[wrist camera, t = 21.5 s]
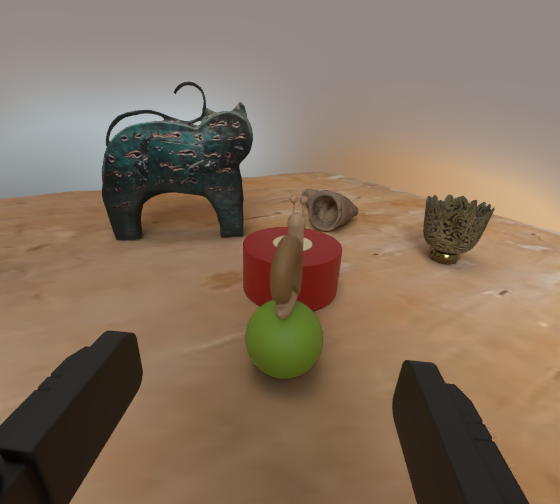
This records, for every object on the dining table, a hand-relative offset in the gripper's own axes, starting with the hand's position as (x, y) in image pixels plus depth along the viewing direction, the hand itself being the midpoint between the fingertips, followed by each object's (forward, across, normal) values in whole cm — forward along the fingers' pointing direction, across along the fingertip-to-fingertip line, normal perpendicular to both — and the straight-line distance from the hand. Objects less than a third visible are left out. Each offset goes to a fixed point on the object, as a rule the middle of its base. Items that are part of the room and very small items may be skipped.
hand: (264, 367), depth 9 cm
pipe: (+47, -4, +10) cm, 48 cm away
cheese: (+22, 0, +10) cm, 24 cm away
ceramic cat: (+34, +16, +10) cm, 39 cm away
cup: (+32, -20, +10) cm, 39 cm away
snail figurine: (+11, 0, +10) cm, 15 cm away
